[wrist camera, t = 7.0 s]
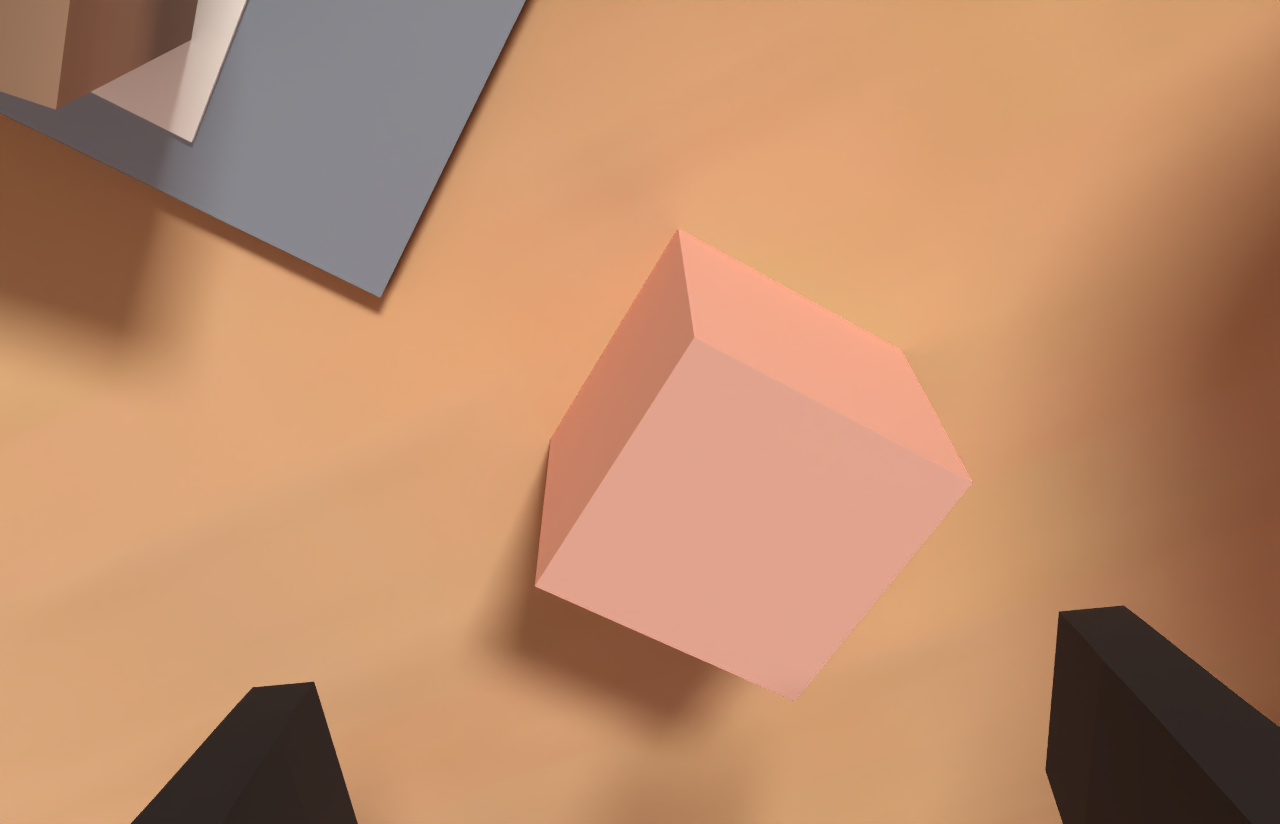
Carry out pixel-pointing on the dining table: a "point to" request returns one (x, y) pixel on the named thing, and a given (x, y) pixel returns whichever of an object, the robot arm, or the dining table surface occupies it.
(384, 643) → the dining table surface
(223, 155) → the board
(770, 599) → the terracotta block
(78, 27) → the walnut block
